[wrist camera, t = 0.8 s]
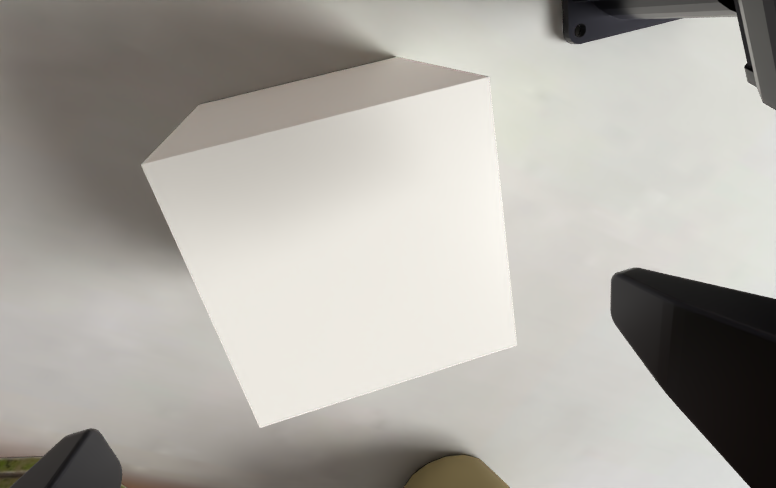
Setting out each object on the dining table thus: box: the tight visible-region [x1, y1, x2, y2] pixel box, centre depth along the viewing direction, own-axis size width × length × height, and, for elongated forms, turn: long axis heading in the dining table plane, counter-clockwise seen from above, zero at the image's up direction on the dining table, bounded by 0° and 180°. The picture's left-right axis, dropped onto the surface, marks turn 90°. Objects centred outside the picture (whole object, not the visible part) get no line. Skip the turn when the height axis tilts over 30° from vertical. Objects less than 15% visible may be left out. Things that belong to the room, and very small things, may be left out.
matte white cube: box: [141, 57, 517, 428], centre depth 16 cm, size 8×8×9 cm
